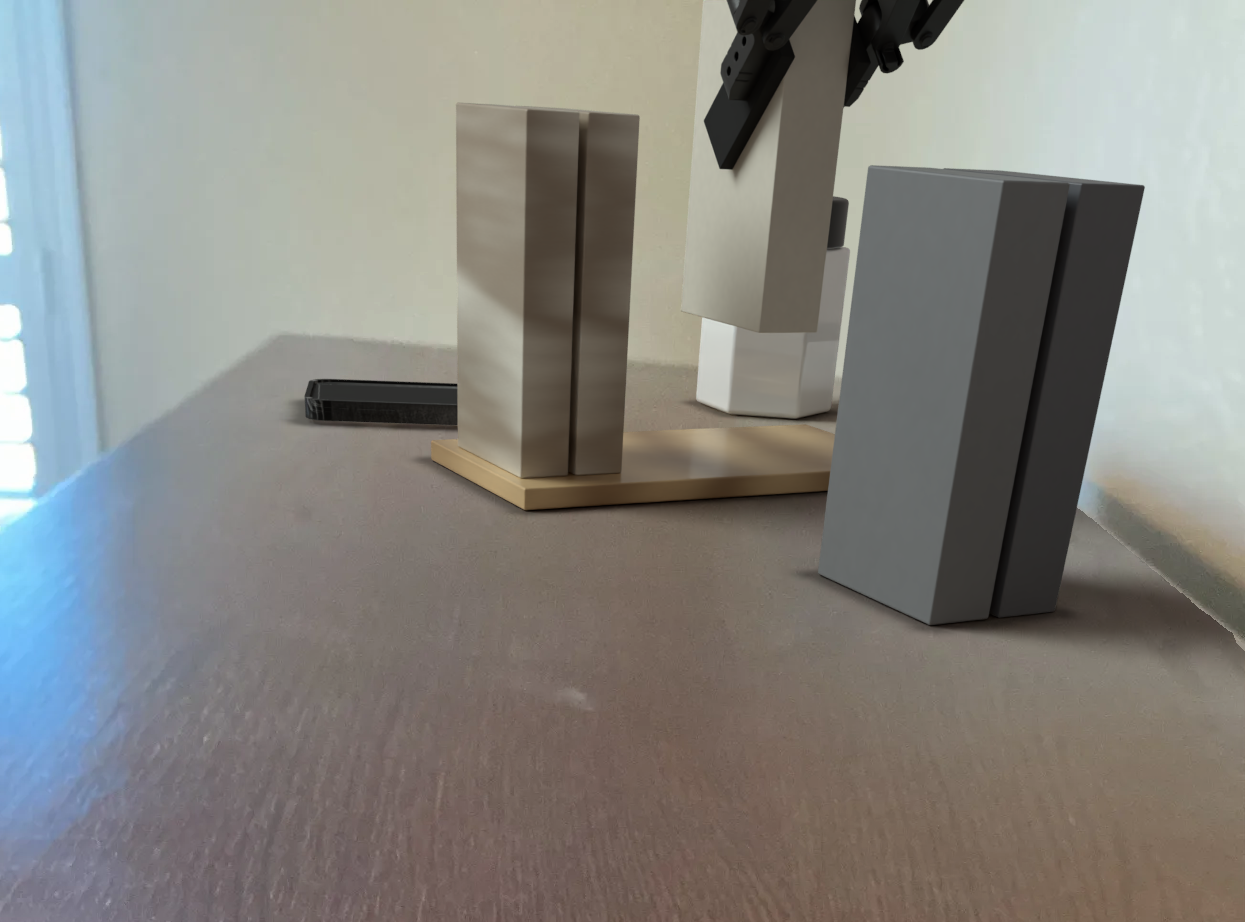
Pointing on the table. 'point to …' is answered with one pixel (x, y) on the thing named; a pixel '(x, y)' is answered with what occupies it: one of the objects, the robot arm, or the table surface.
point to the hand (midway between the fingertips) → (754, 146)
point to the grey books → (972, 385)
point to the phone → (382, 401)
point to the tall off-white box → (768, 182)
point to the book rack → (574, 329)
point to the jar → (779, 351)
